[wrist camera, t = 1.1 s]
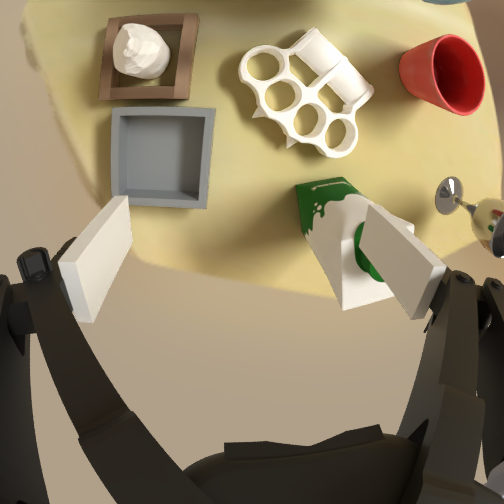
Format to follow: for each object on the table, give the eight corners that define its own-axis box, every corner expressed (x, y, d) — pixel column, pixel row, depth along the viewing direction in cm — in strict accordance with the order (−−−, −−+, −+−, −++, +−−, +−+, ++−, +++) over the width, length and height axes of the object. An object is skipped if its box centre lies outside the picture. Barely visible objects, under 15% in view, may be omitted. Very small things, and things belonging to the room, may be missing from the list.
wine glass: (435, 223, 45) (489, 266, 32) (431, 181, 41) (493, 218, 28) (465, 208, 44) (520, 246, 31) (463, 169, 40) (524, 200, 27)
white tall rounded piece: (90, 26, 18) (147, 5, 18) (126, 45, 28) (168, 32, 28) (98, 80, 21) (156, 60, 21) (134, 85, 31) (176, 73, 31)
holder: (116, 23, 26) (108, 18, 24) (199, 20, 28) (197, 13, 25) (107, 100, 31) (98, 100, 29) (188, 99, 33) (186, 98, 30)
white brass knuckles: (381, 106, 36) (314, 176, 40) (290, 14, 29) (213, 88, 33) (393, 107, 33) (321, 182, 37) (296, 7, 26) (213, 86, 30)
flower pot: (451, 69, 32) (493, 71, 24) (429, 121, 36) (471, 131, 28) (405, 27, 29) (445, 18, 21) (379, 81, 33) (419, 80, 25)
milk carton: (347, 169, 39) (433, 227, 22) (351, 226, 44) (420, 308, 26) (287, 179, 39) (341, 249, 22) (296, 238, 44) (342, 332, 26)
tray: (123, 106, 32) (112, 107, 28) (216, 108, 34) (215, 109, 30) (122, 193, 38) (111, 204, 34) (207, 197, 40) (206, 209, 36)
